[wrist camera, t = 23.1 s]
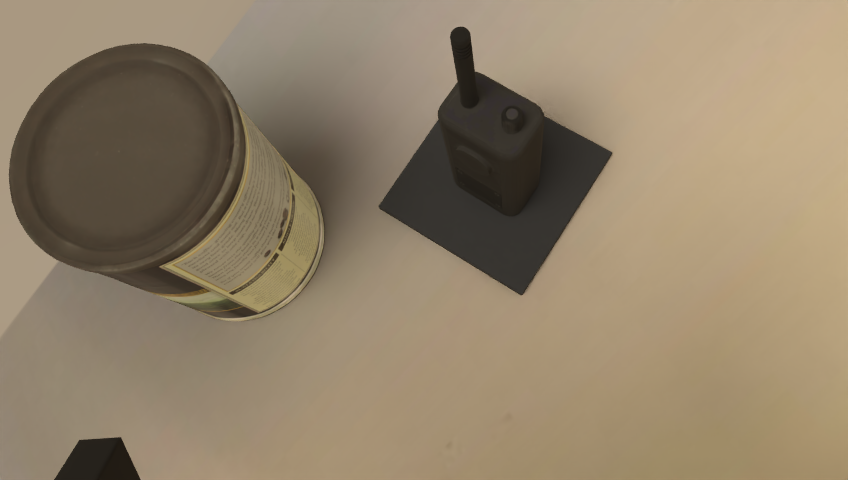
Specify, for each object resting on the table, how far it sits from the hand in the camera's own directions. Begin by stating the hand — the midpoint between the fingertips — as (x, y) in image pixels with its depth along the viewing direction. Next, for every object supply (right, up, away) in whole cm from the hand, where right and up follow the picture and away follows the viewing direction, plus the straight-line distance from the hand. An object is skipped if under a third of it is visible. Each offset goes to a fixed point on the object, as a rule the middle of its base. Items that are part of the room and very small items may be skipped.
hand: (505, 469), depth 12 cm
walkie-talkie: (+3, +7, +30) cm, 31 cm away
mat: (+3, +7, +30) cm, 31 cm away
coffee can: (-12, +4, +31) cm, 34 cm away
